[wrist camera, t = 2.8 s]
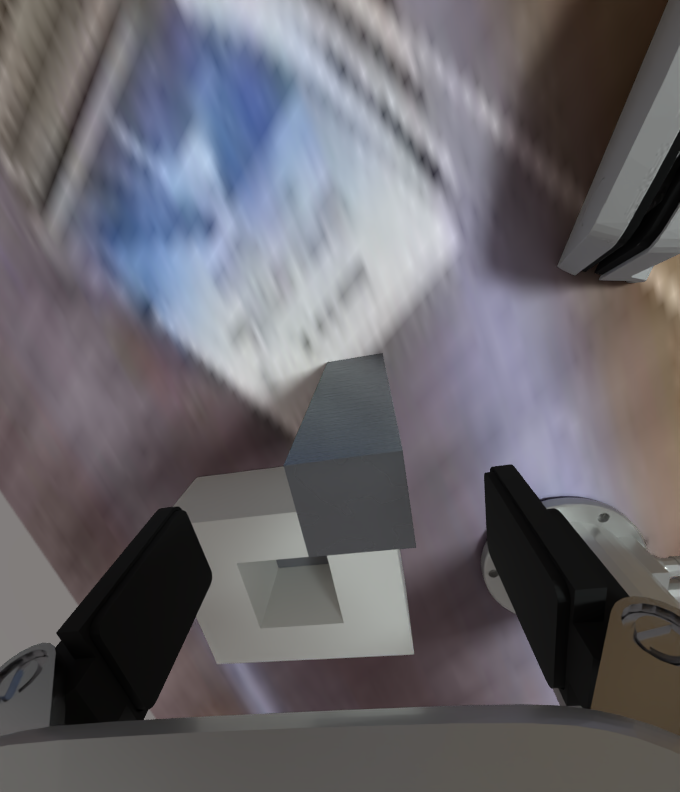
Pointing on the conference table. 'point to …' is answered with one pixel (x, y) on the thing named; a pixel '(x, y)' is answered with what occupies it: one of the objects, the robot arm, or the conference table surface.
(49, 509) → the conference table surface
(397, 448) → the bracket bar
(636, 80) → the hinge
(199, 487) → the well block
